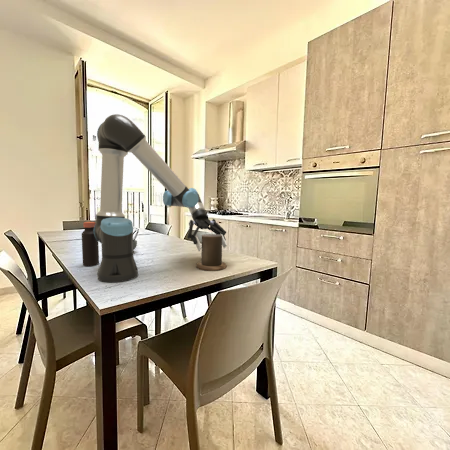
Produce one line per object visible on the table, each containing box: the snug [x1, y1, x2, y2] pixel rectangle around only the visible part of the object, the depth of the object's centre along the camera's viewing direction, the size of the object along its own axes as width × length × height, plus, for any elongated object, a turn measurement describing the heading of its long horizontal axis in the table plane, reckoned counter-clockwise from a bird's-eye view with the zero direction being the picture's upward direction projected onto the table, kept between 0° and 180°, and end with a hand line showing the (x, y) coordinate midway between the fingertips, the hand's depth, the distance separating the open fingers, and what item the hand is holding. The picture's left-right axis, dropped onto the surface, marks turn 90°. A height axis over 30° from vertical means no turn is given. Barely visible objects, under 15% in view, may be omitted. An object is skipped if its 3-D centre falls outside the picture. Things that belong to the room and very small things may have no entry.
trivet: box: [195, 261, 227, 272], centre depth 121 cm, size 14×14×1 cm
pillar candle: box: [200, 233, 223, 266], centre depth 121 cm, size 10×10×15 cm
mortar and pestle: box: [133, 239, 138, 254], centre depth 147 cm, size 11×9×12 cm
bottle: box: [81, 221, 100, 267], centre depth 120 cm, size 7×7×20 cm
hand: (213, 248), depth 119 cm, fingers open, 13 cm apart
